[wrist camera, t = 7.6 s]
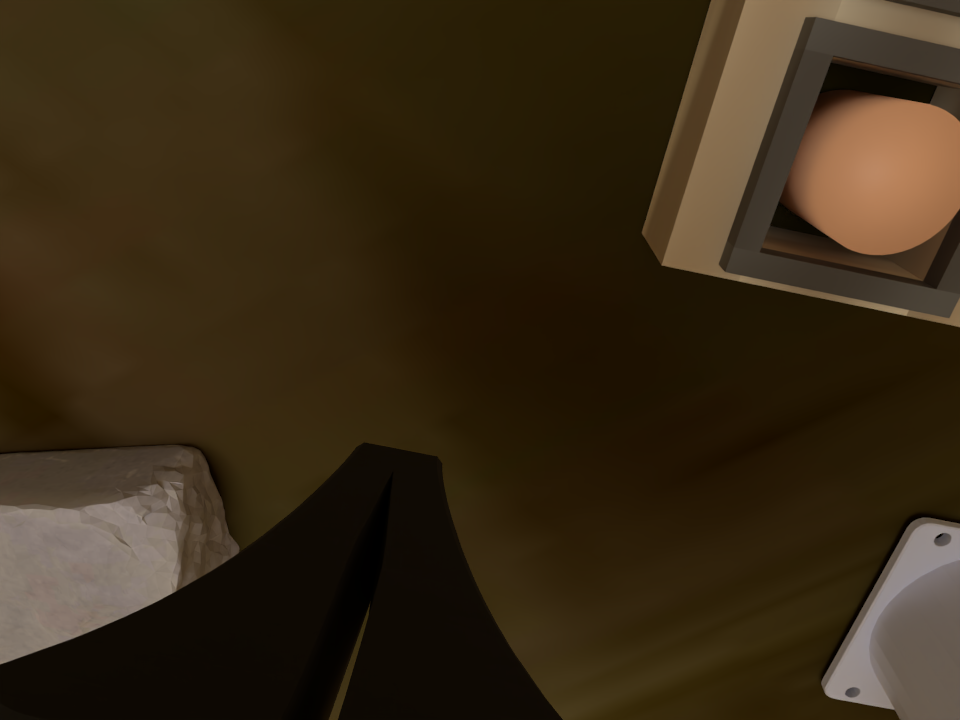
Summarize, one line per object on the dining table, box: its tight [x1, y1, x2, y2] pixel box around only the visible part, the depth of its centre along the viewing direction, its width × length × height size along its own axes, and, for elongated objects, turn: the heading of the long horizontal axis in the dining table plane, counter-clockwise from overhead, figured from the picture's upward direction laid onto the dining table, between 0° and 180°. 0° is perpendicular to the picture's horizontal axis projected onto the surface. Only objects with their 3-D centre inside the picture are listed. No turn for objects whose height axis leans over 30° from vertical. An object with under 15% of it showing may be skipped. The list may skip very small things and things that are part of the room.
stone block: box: [0, 445, 240, 664], centre depth 25 cm, size 12×5×10 cm
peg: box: [779, 90, 960, 255], centre depth 17 cm, size 3×3×3 cm
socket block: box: [642, 0, 960, 327], centre depth 16 cm, size 8×12×4 cm, turn 169°
